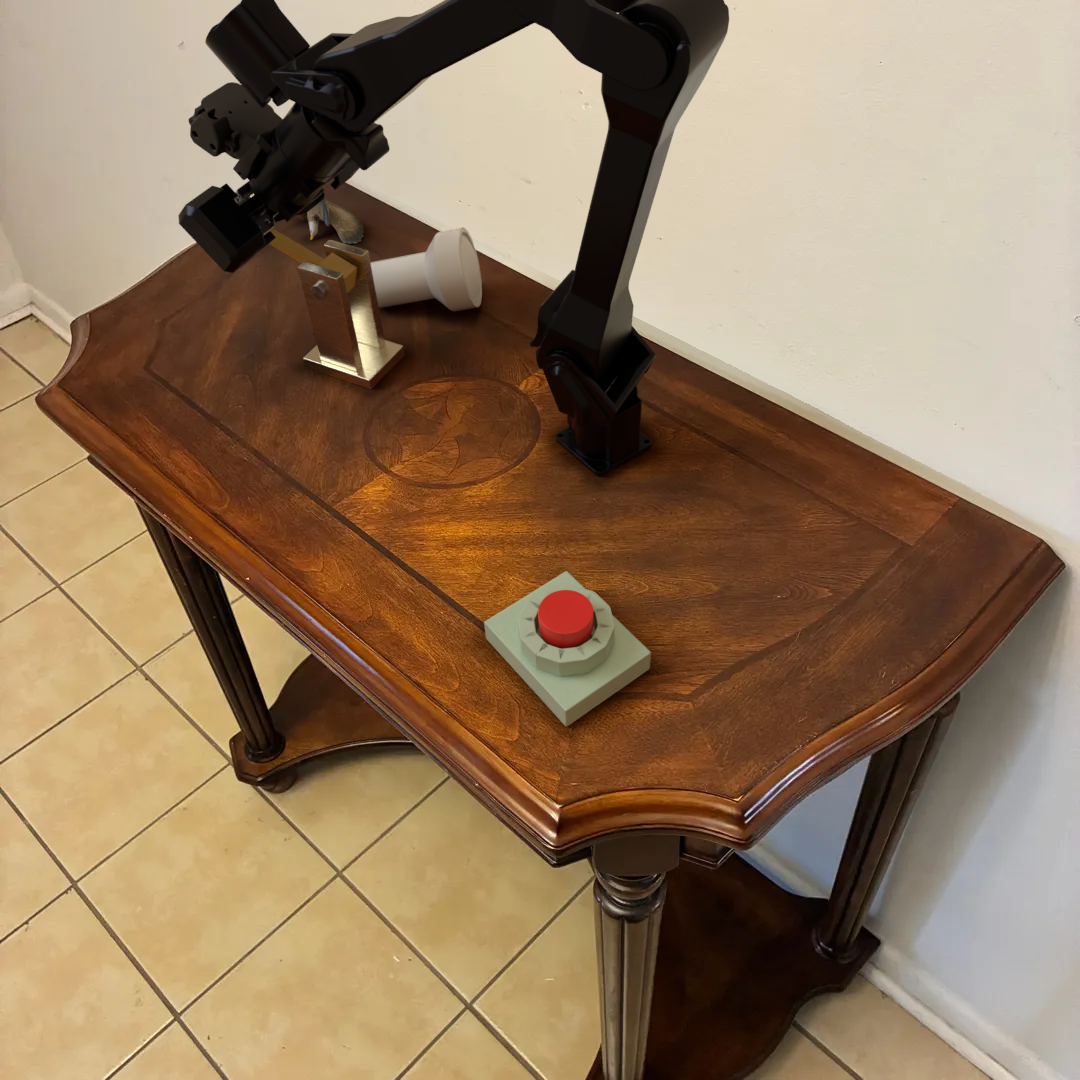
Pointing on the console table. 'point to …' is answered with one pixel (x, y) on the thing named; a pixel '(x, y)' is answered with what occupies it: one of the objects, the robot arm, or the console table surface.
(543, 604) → the red button
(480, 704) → the console table surface
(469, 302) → the spotlight
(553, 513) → the console table surface
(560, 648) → the button box
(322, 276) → the switch bracket
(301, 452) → the console table surface
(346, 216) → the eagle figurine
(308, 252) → the switch lever
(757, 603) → the console table surface
